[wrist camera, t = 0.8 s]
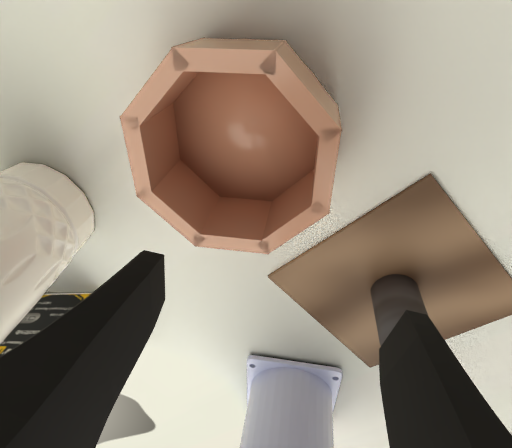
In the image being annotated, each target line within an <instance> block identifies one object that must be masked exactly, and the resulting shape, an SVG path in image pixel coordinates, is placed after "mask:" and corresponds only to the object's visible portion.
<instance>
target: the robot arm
mask: <svg viewBox="0 0 512 448" xmlns="http://www.w3.org/2000/svg"><path fill="white" fill-rule="evenodd" d="M164 301H165V273H164V255H163V254H158V253H154V252H149V251H145V250H144V251H142V252H140V253H139V254H138V255H137V256H136V257H135V258H134V259H132V260H131V261H130V262H129V263H128V264H127V265H125V266H124V267H123V268H122V269H121V270H120V271H118V272H117V273H116V274H115V275H114V276H112V277H111V278H110V279H109V280H108V281H106V282H105V283H104V284H103V285H101V286H100V287H99V288H98V289H96V290H95V291H94V292H92V293H91V294H90V295H89V296H87V297H86V298H85V299H84V300H82V301H81V302H80V303H78V304H77V305H76V306H74V307H73V308H72V309H70V310H69V311H67V312H66V313H65V314H63V315H62V316H61V317H59V318H58V319H56V320H55V321H54V322H52V323H51V324H49V325H48V326H47V327H45V328H44V329H42V330H41V331H39V332H38V333H36V334H35V335H33V336H32V337H30V338H29V339H27V340H26V341H24V342H23V343H21V344H20V345H18V346H16V347H15V348H13V349H12V350H10V351H8V352H7V353H5V354H4V355H2V356H0V448H95V447H96V444H97V442H98V440H99V437H100V435H101V433H102V430H103V428H104V426H105V423H106V421H107V418H108V416H109V414H110V412H111V410H112V408H113V406H114V404H115V402H116V400H117V398H118V396H119V394H120V392H121V390H122V388H123V387H124V385H125V383H126V381H127V379H128V377H129V375H130V373H131V371H132V370H133V368H134V366H135V364H136V362H137V360H138V358H139V356H140V354H141V353H142V351H143V349H144V347H145V345H146V343H147V341H148V339H149V337H150V335H151V333H152V331H153V329H154V327H155V324H156V322H157V319H158V317H159V314H160V311H161V309H162V306H163V304H164ZM379 370H380V387H381V394H382V401H383V407H384V414H385V420H386V426H387V433H388V439H389V446H390V448H512V435H511V434H510V433H509V431H508V430H507V429H506V427H505V426H504V425H503V423H502V422H501V421H500V419H499V418H498V417H497V415H496V414H495V413H494V411H493V410H492V409H491V407H490V406H489V404H488V403H487V402H486V400H485V399H484V398H483V396H482V395H481V393H480V392H479V390H478V389H477V388H476V386H475V385H474V383H473V382H472V380H471V379H470V378H469V376H468V375H467V373H466V372H465V370H464V369H463V367H462V366H461V364H460V363H459V361H458V360H457V358H456V357H455V355H454V354H453V352H452V351H451V349H450V348H449V346H448V345H447V343H446V342H445V340H444V339H443V337H442V336H441V334H440V333H439V331H438V330H437V328H436V327H435V325H434V324H433V322H432V321H431V319H430V318H429V316H428V315H427V314H422V313H418V312H413V311H409V310H406V311H405V312H404V314H403V315H402V316H401V318H400V319H399V321H398V322H397V324H396V325H395V327H394V328H393V329H392V331H391V332H390V334H389V335H388V337H387V338H386V340H385V341H384V342H383V344H382V345H381V347H380V348H379ZM342 376H343V375H342V370H341V369H340V368H337V367H330V366H323V365H317V364H310V363H303V362H296V361H290V360H283V359H276V358H269V357H263V356H256V355H250V356H248V358H247V411H246V417H245V422H244V428H243V433H242V438H241V444H240V448H334V444H333V411H334V407H335V403H336V399H337V395H338V391H339V387H340V383H341V379H342Z"/></svg>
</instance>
